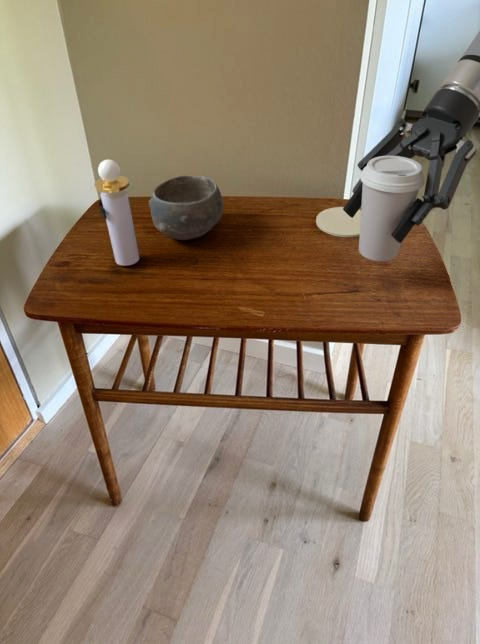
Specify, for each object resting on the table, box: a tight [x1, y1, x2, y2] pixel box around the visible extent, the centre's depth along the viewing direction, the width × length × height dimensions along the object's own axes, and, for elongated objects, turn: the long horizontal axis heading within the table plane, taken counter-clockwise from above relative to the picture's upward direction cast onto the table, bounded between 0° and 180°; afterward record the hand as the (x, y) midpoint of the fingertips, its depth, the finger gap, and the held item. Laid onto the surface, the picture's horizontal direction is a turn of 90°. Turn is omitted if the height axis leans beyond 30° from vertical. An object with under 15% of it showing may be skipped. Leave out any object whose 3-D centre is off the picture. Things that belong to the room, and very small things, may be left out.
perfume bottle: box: [93, 158, 140, 267], centre depth 86 cm, size 6×6×20 cm
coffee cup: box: [358, 156, 426, 262], centre depth 77 cm, size 10×10×15 cm
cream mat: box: [315, 206, 361, 239], centre depth 102 cm, size 12×12×1 cm
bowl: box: [148, 174, 225, 241], centre depth 97 cm, size 14×15×10 cm
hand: (370, 225), depth 77 cm, fingers closed on coffee cup, 9 cm apart
